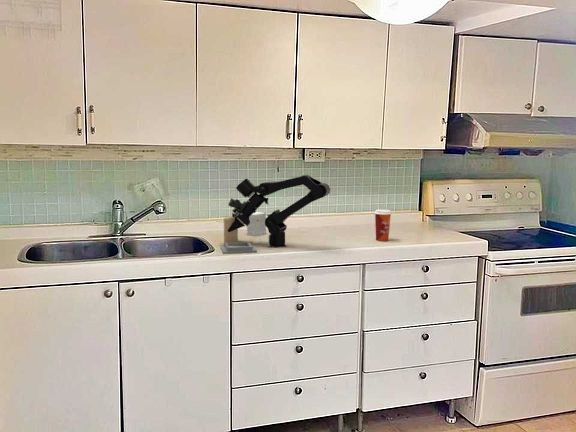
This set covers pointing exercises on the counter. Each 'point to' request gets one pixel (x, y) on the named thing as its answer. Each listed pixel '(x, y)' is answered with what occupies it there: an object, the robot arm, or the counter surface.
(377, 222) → the paper cup
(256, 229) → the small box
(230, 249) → the tray
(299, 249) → the counter surface
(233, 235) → the carton
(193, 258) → the counter surface
